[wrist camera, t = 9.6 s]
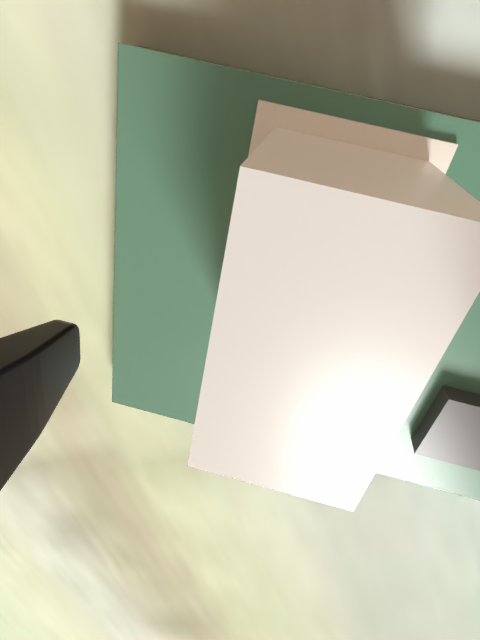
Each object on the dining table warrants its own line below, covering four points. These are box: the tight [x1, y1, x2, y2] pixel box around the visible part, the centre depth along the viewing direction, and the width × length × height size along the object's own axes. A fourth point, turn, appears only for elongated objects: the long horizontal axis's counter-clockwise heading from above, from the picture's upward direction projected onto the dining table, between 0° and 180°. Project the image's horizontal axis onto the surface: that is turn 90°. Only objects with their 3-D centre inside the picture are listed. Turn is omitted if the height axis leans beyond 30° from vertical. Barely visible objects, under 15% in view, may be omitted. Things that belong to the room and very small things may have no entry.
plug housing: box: [187, 127, 480, 511], centre depth 11 cm, size 4×8×6 cm, turn 170°
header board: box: [112, 43, 480, 500], centre depth 14 cm, size 20×14×3 cm
